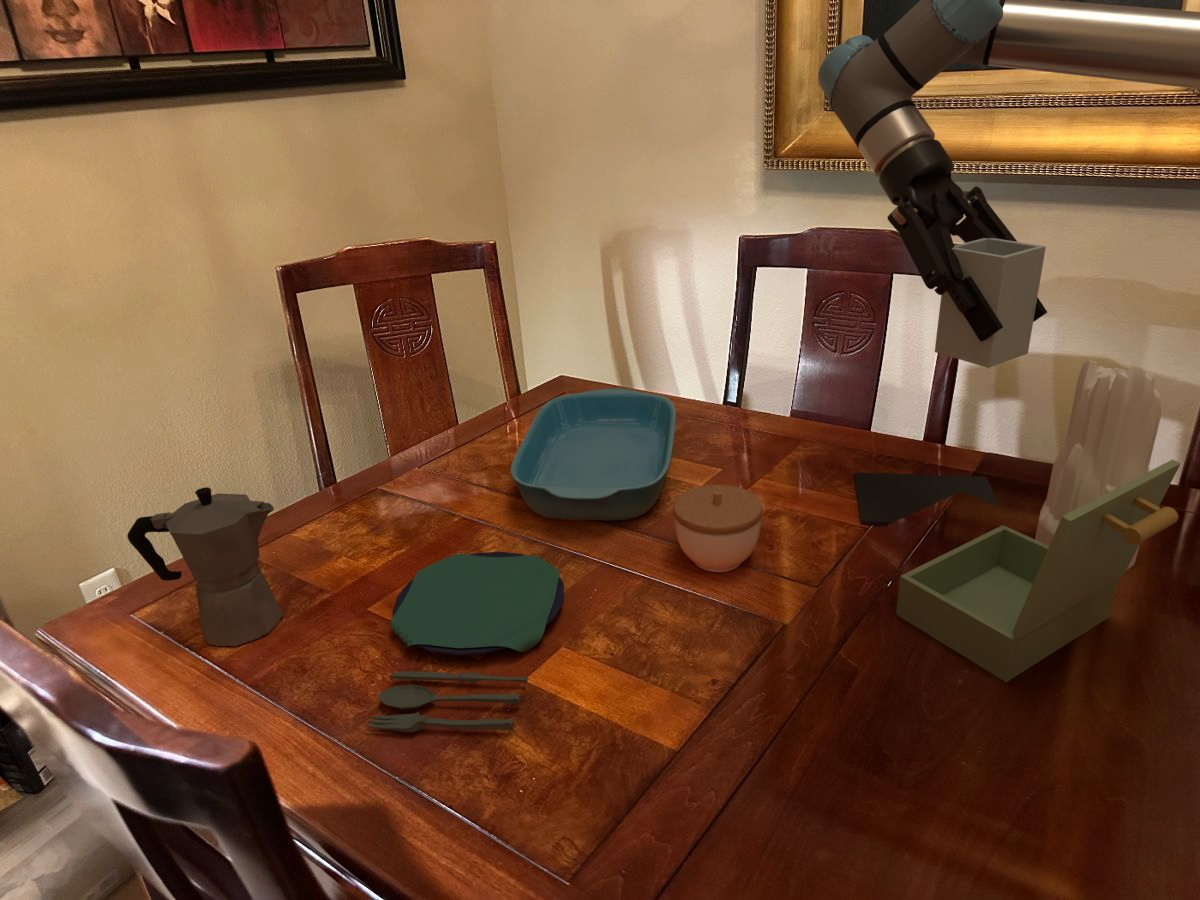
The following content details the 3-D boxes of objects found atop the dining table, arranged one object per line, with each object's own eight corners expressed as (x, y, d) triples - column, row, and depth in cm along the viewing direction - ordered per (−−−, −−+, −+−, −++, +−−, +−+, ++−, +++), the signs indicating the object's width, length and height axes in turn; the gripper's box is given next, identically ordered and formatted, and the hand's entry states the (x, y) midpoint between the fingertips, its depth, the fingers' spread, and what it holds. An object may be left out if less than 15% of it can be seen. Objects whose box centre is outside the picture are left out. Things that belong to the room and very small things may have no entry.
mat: (985, 480, 119) (986, 476, 119) (1008, 531, 107) (1009, 527, 106) (853, 475, 123) (853, 472, 122) (861, 524, 110) (861, 520, 110)
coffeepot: (305, 591, 104) (271, 461, 96) (296, 638, 96) (259, 499, 88) (173, 613, 102) (128, 481, 94) (152, 662, 93) (101, 522, 86)
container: (934, 352, 96) (946, 247, 91) (973, 339, 100) (987, 237, 95) (988, 368, 91) (1005, 257, 86) (1028, 353, 94) (1046, 246, 89)
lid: (1061, 516, 72) (1111, 545, 68) (1172, 459, 79) (1221, 483, 76) (1011, 633, 79) (1053, 664, 76) (1116, 571, 87) (1158, 597, 84)
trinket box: (778, 554, 105) (780, 488, 101) (727, 594, 98) (727, 524, 94) (708, 527, 112) (708, 464, 108) (657, 562, 105) (654, 496, 101)
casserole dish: (667, 541, 109) (665, 493, 106) (500, 538, 113) (494, 491, 110) (680, 425, 142) (680, 386, 139) (551, 426, 146) (547, 387, 142)
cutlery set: (577, 564, 106) (576, 549, 105) (532, 742, 79) (530, 723, 78) (425, 562, 108) (422, 547, 107) (331, 734, 82) (326, 716, 81)
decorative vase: (1039, 522, 108) (1074, 336, 97) (1136, 541, 103) (1184, 346, 92) (1028, 564, 100) (1066, 366, 89) (1133, 587, 95) (1186, 380, 84)
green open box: (895, 619, 92) (899, 575, 90) (995, 565, 100) (1002, 524, 98) (1005, 687, 82) (1013, 640, 79) (1108, 621, 90) (1118, 577, 87)
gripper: (941, 170, 104) (1042, 326, 99) (825, 192, 95) (929, 364, 90) (985, 126, 98) (1096, 290, 92) (865, 145, 89) (980, 328, 83)
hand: (1014, 326), depth 91 cm, fingers closed on container, 7 cm apart
